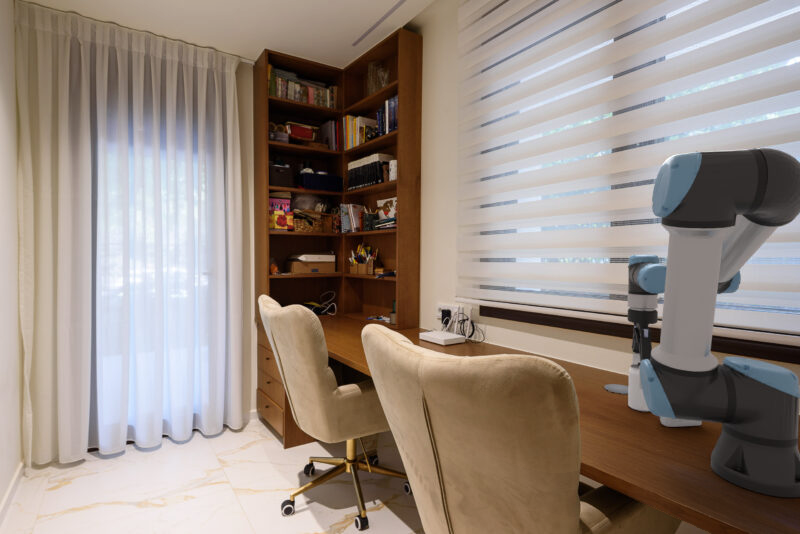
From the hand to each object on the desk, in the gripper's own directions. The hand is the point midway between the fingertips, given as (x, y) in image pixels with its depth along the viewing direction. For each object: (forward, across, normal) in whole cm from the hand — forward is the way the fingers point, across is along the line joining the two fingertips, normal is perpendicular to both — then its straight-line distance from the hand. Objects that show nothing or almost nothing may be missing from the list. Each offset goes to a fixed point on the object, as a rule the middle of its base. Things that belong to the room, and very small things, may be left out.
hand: (640, 381), depth 124 cm
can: (+8, -1, 0) cm, 8 cm away
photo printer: (+8, -10, -8) cm, 15 cm away
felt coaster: (+8, +15, +4) cm, 18 cm away
